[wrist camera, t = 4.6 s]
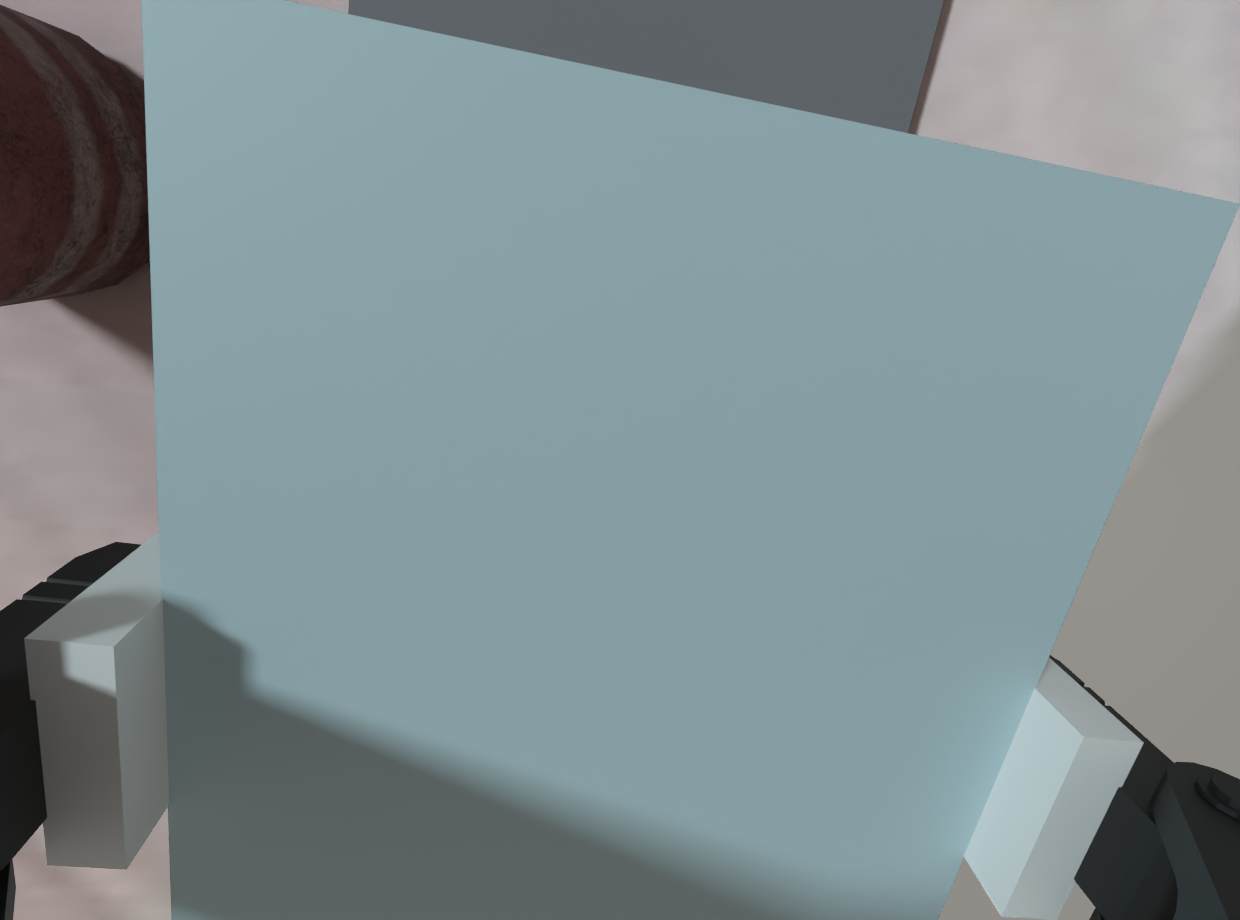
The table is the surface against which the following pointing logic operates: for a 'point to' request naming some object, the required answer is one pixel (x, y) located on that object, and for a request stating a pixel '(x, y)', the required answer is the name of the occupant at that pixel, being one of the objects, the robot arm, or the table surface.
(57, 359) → the table surface
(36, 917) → the table surface
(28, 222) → the can
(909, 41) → the mat
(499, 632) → the lid
